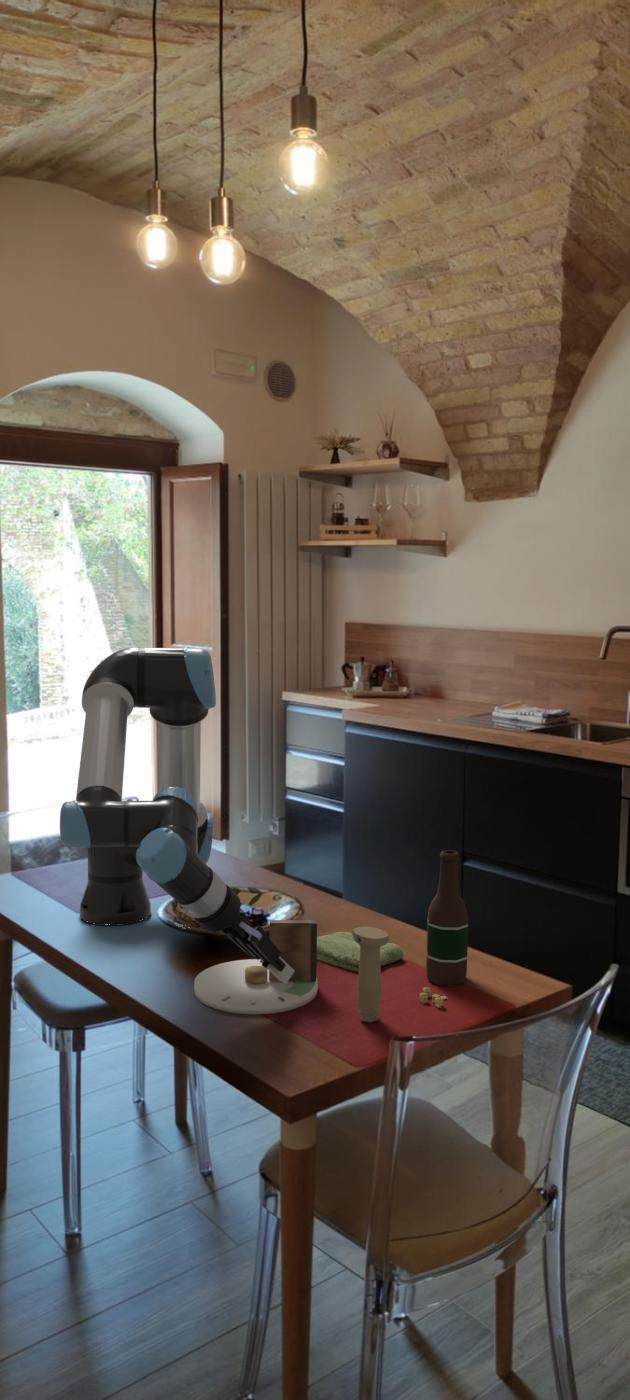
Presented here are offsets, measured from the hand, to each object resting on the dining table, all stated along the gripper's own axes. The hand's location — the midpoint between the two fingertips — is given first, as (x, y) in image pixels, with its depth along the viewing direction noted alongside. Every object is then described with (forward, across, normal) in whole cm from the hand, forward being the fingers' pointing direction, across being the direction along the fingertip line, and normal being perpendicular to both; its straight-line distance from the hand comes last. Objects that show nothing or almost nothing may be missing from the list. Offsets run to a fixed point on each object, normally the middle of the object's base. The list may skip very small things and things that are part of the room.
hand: (287, 975), depth 184 cm
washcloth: (+20, -9, +13) cm, 25 cm away
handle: (+7, +15, 0) cm, 17 cm away
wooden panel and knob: (+3, -4, 0) cm, 5 cm away
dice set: (+17, +16, +10) cm, 26 cm away
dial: (+2, -7, -4) cm, 8 cm away
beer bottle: (+24, +11, +17) cm, 31 cm away
